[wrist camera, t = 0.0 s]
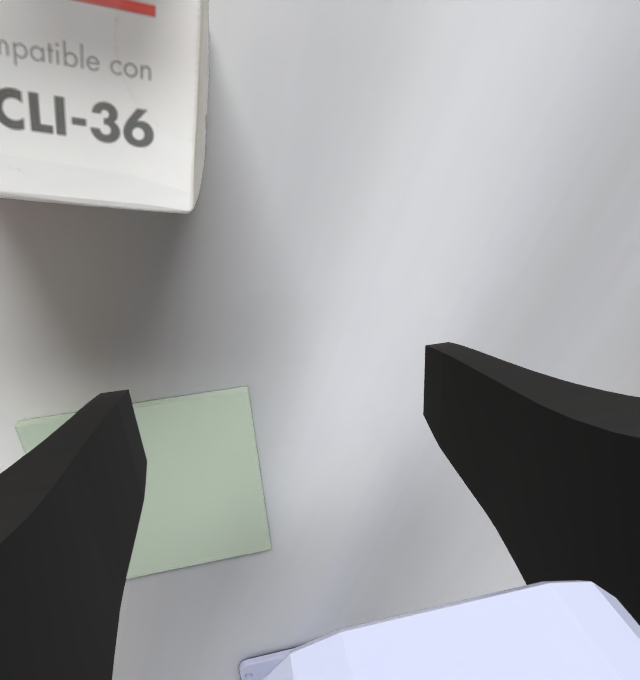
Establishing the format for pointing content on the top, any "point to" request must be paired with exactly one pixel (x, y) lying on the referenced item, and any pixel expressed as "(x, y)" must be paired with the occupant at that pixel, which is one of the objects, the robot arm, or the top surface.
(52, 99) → the ink cartridge box
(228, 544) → the mat
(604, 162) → the top surface
